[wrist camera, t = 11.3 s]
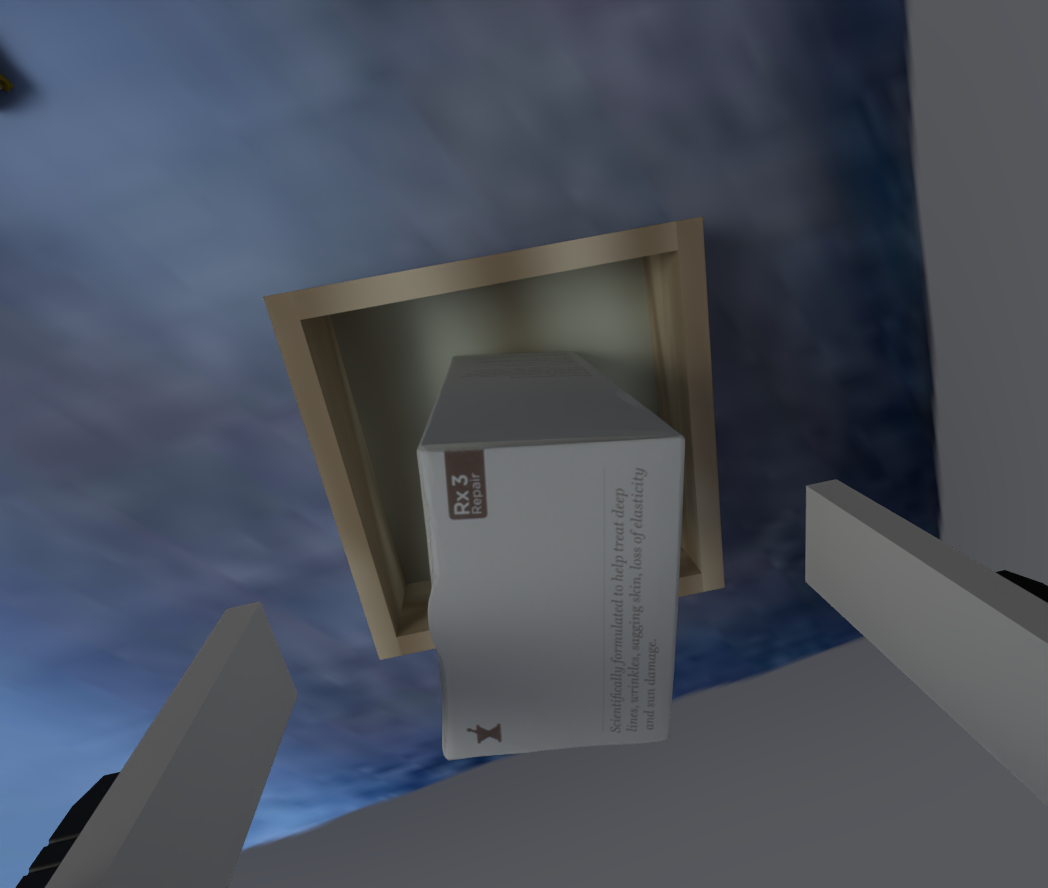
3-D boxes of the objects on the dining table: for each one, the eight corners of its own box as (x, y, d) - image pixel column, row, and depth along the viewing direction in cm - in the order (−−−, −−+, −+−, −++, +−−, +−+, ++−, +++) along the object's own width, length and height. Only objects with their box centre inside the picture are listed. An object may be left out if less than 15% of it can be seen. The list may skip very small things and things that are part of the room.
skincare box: (574, 506, 28) (685, 756, 14) (454, 514, 27) (441, 784, 13) (573, 339, 25) (711, 436, 11) (441, 344, 24) (407, 455, 10)
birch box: (393, 595, 29) (379, 660, 24) (303, 290, 24) (263, 296, 19) (683, 536, 30) (724, 587, 25) (657, 225, 25) (702, 216, 20)
